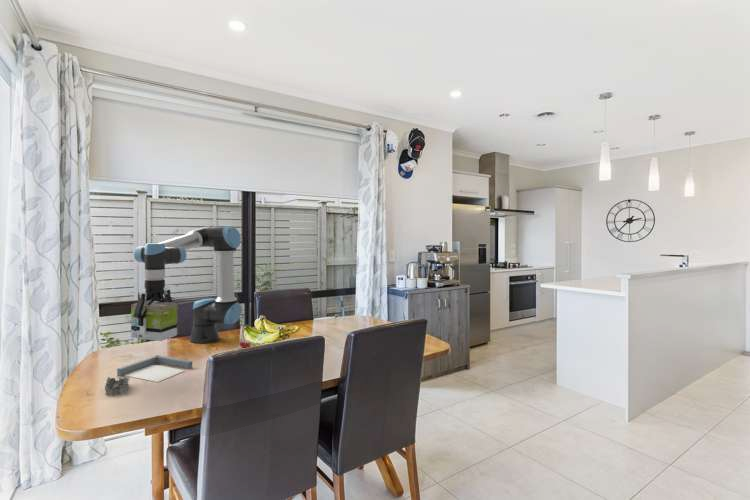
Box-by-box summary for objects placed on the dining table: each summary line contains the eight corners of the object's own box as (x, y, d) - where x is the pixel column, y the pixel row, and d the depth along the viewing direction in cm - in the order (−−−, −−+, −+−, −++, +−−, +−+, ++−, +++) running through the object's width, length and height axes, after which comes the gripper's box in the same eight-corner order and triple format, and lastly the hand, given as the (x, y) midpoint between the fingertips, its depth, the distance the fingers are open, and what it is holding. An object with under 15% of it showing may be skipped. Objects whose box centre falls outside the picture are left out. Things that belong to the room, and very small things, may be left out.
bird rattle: (236, 371, 174) (254, 363, 175) (226, 349, 173) (245, 341, 174) (240, 366, 180) (257, 359, 181) (230, 345, 180) (248, 337, 180)
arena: (157, 361, 179) (157, 355, 178) (193, 367, 171) (193, 361, 171) (117, 375, 160) (117, 368, 160) (155, 383, 153) (155, 376, 153)
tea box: (130, 338, 159) (130, 303, 159) (148, 332, 169) (148, 300, 169) (160, 341, 156) (161, 306, 156) (178, 335, 166) (178, 302, 166)
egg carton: (107, 386, 150) (107, 376, 150) (130, 383, 153) (130, 373, 153) (103, 397, 140) (102, 386, 140) (127, 393, 144) (127, 383, 143)
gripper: (170, 276, 174) (170, 323, 175) (122, 281, 152) (122, 335, 153) (183, 277, 171) (183, 325, 172) (136, 282, 150) (136, 337, 151)
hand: (154, 330), depth 163 cm, fingers closed on tea box, 10 cm apart
